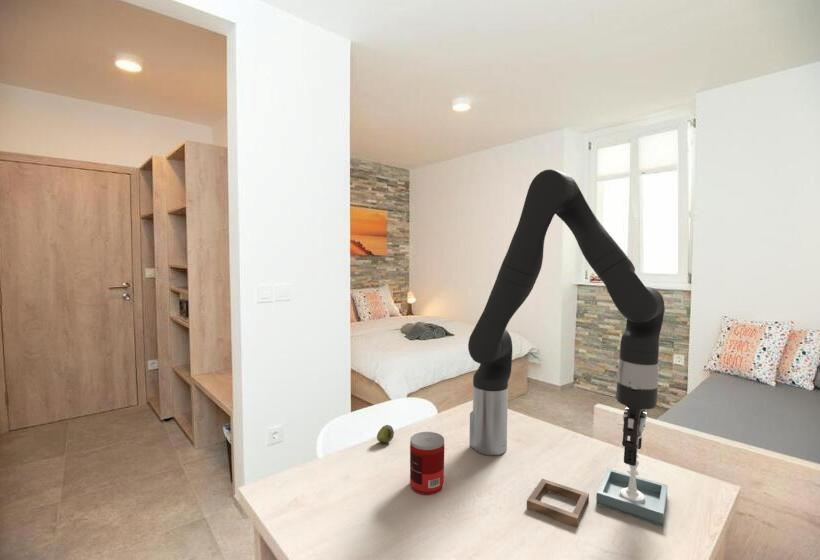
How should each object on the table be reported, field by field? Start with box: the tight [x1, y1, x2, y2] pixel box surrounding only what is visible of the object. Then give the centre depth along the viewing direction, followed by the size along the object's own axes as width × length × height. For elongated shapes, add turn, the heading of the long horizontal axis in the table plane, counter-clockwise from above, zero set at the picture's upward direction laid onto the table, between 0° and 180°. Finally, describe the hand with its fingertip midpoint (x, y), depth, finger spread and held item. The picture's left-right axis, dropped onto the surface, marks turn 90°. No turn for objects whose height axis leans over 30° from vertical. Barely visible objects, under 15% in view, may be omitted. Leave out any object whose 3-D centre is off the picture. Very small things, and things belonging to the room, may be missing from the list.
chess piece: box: [619, 454, 645, 504], centre depth 87 cm, size 5×5×10 cm
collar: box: [526, 478, 590, 528], centre depth 86 cm, size 10×10×2 cm
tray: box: [595, 467, 669, 527], centre depth 87 cm, size 12×12×3 cm
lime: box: [376, 424, 395, 444], centre depth 114 cm, size 4×5×5 cm
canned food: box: [409, 431, 445, 496], centre depth 93 cm, size 8×8×11 cm
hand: (632, 455), depth 87 cm, fingers open, 8 cm apart
